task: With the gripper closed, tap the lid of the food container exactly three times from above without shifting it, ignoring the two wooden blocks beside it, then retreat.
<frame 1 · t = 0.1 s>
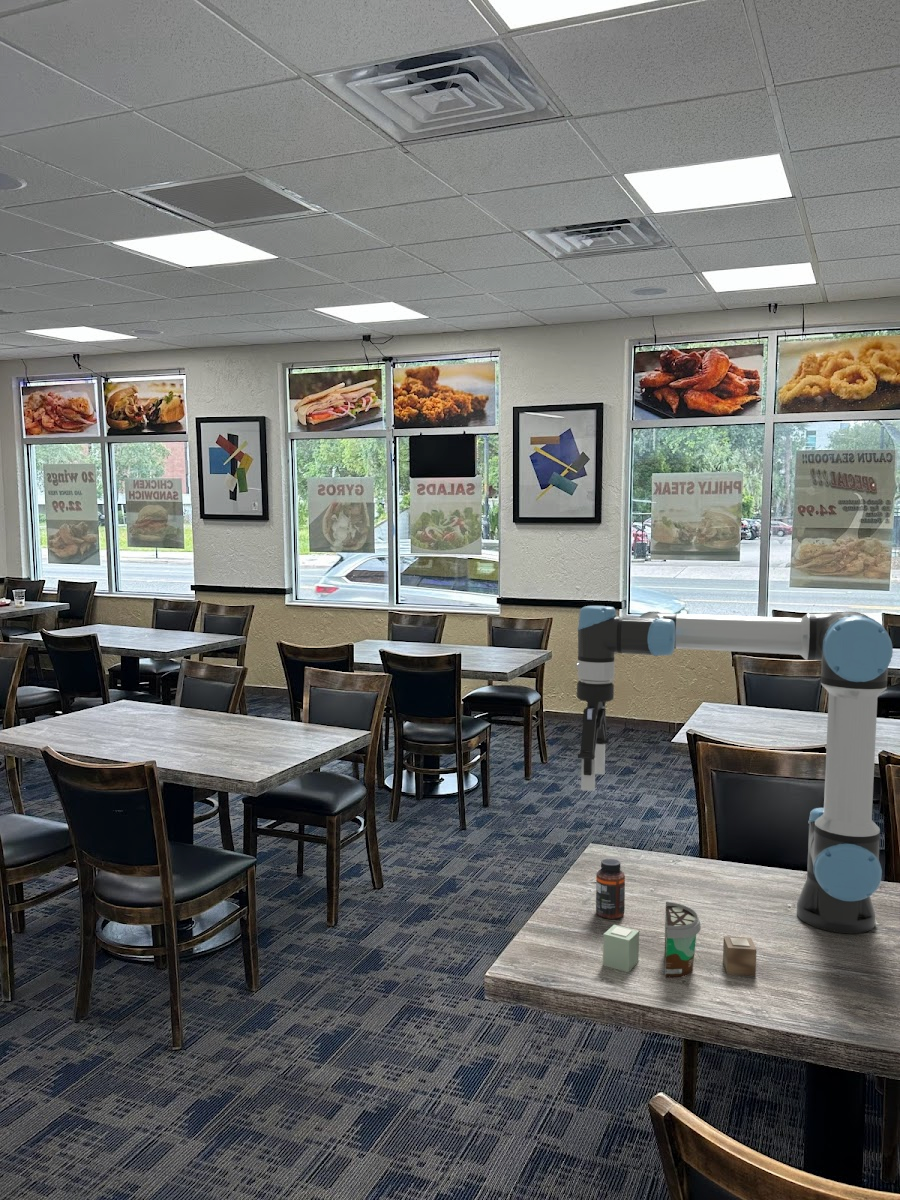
hand: (593, 781, 196), 28 cm above the table, fingers open, 13 cm apart
food container: (682, 968, 174), on the table
sage block: (620, 963, 175), on the table
walnut block: (738, 969, 174), on the table
supplement bottle: (609, 915, 198), on the table
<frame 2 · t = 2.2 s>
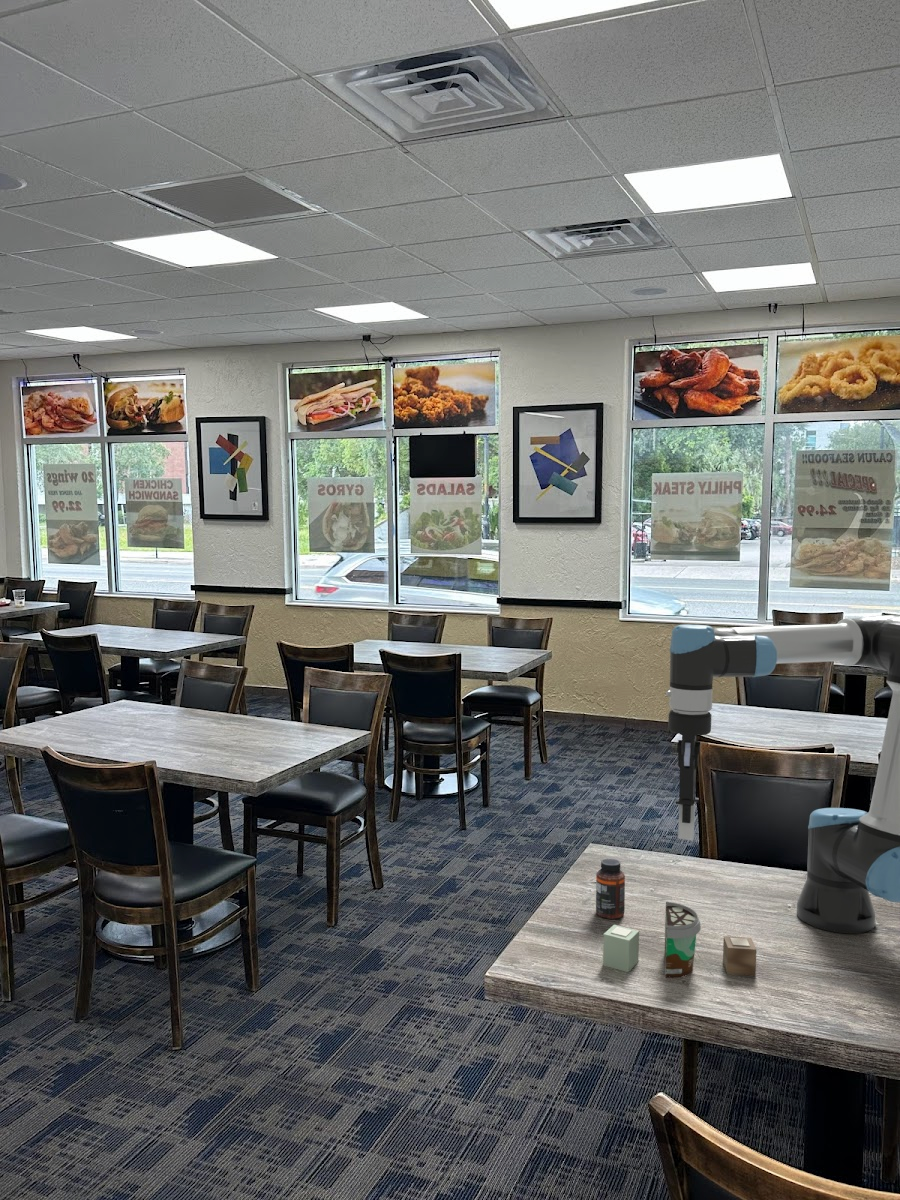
hand: (686, 838, 172), 24 cm above the table, fingers closed
nothing on the table moved.
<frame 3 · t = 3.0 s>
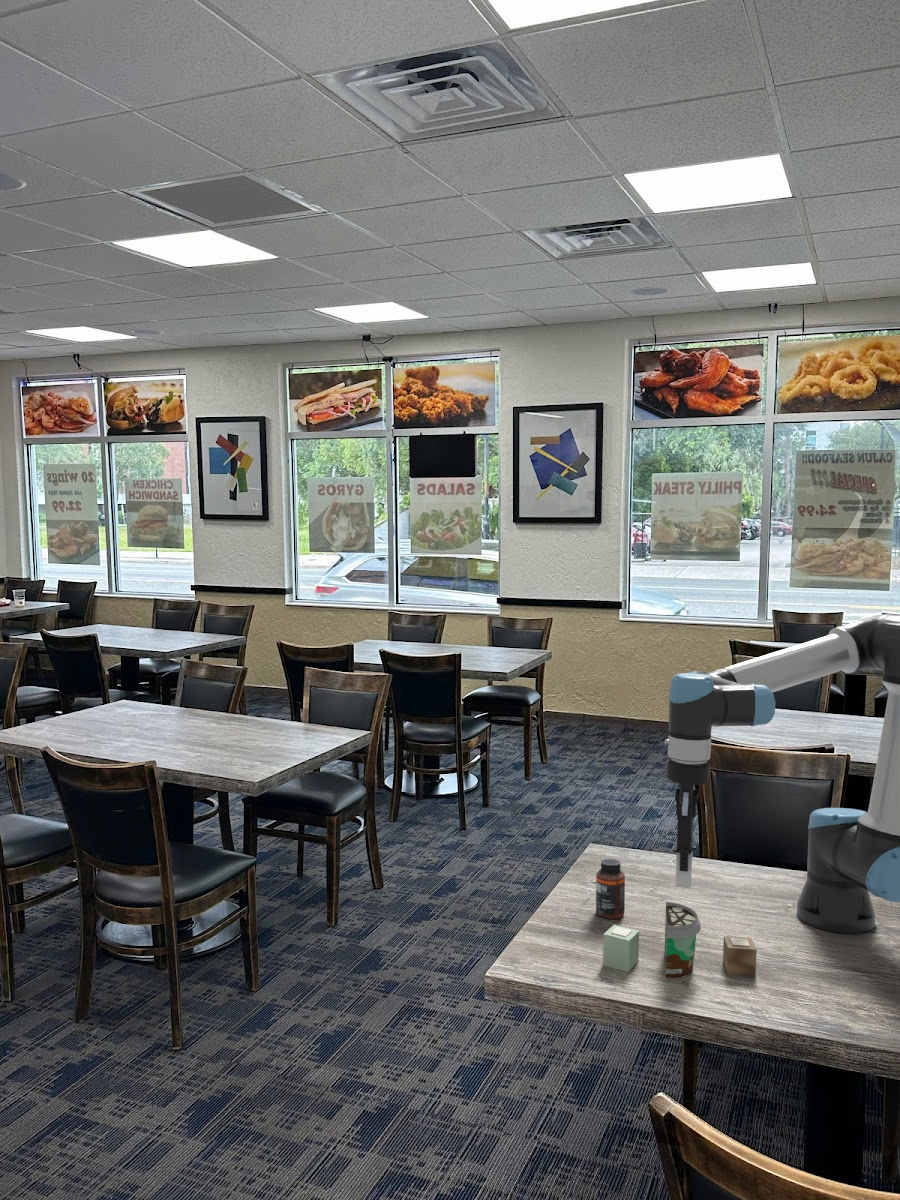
hand: (683, 886, 173), 15 cm above the table, fingers closed
nothing on the table moved.
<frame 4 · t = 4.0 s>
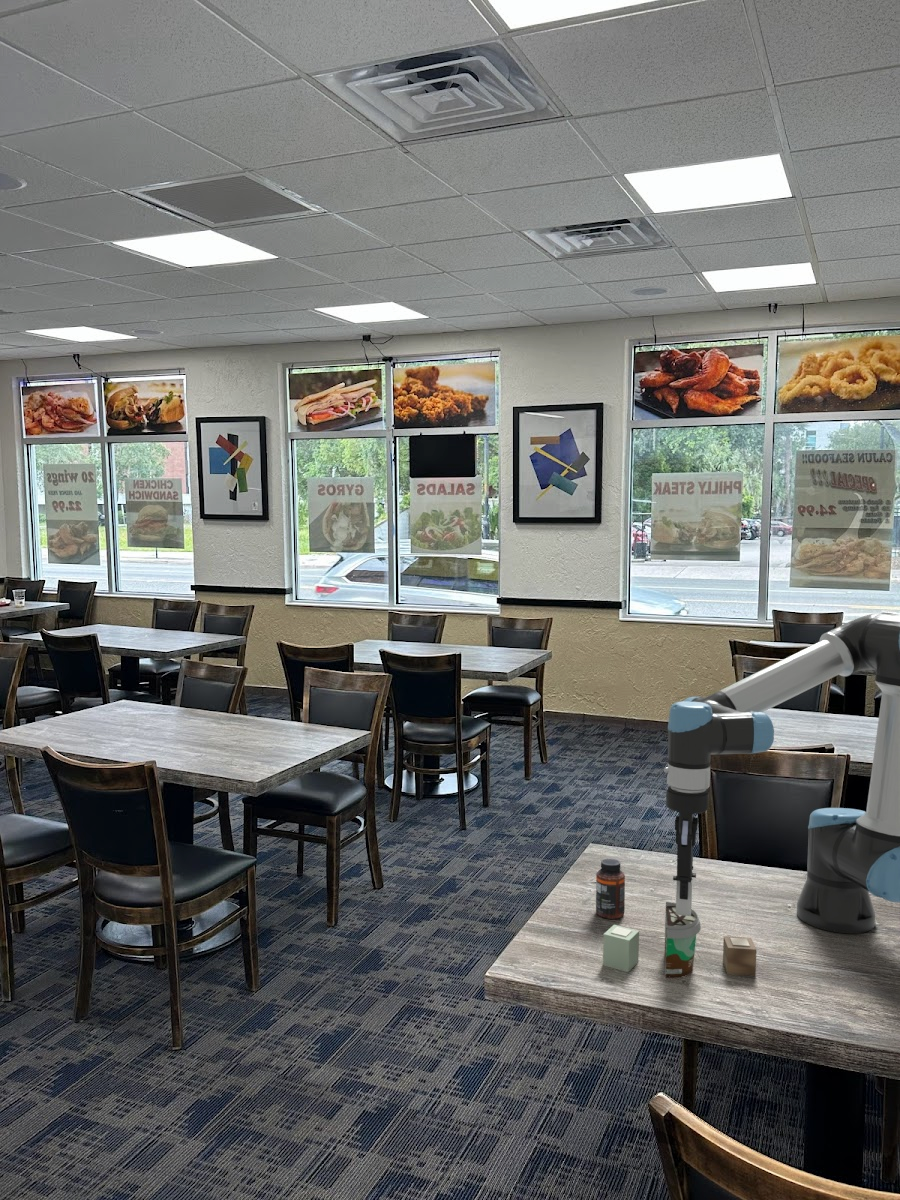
hand: (683, 913, 173), 10 cm above the table, fingers closed
food container: (682, 968, 174), on the table, touching gripper
everything else where it was.
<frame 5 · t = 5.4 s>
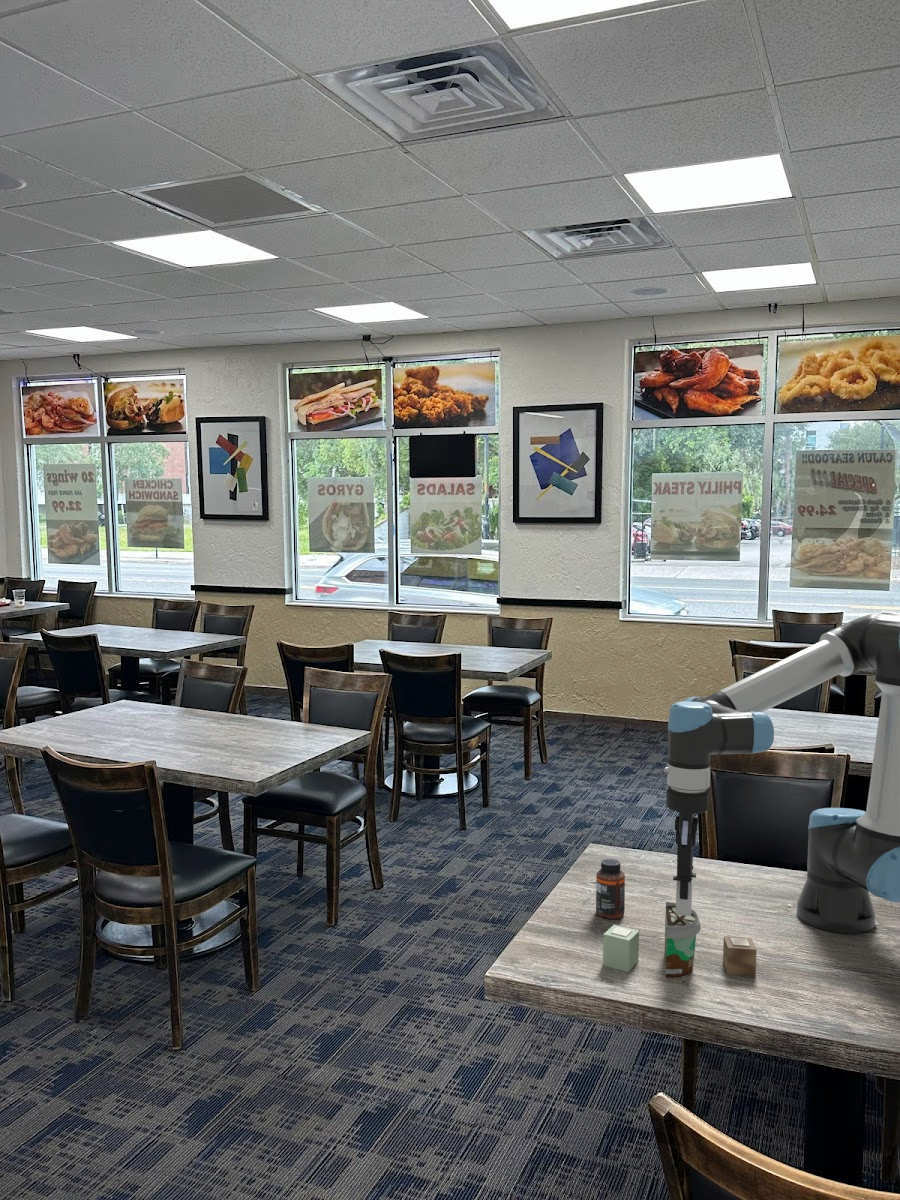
hand: (683, 913, 173), 10 cm above the table, fingers closed
nothing on the table moved.
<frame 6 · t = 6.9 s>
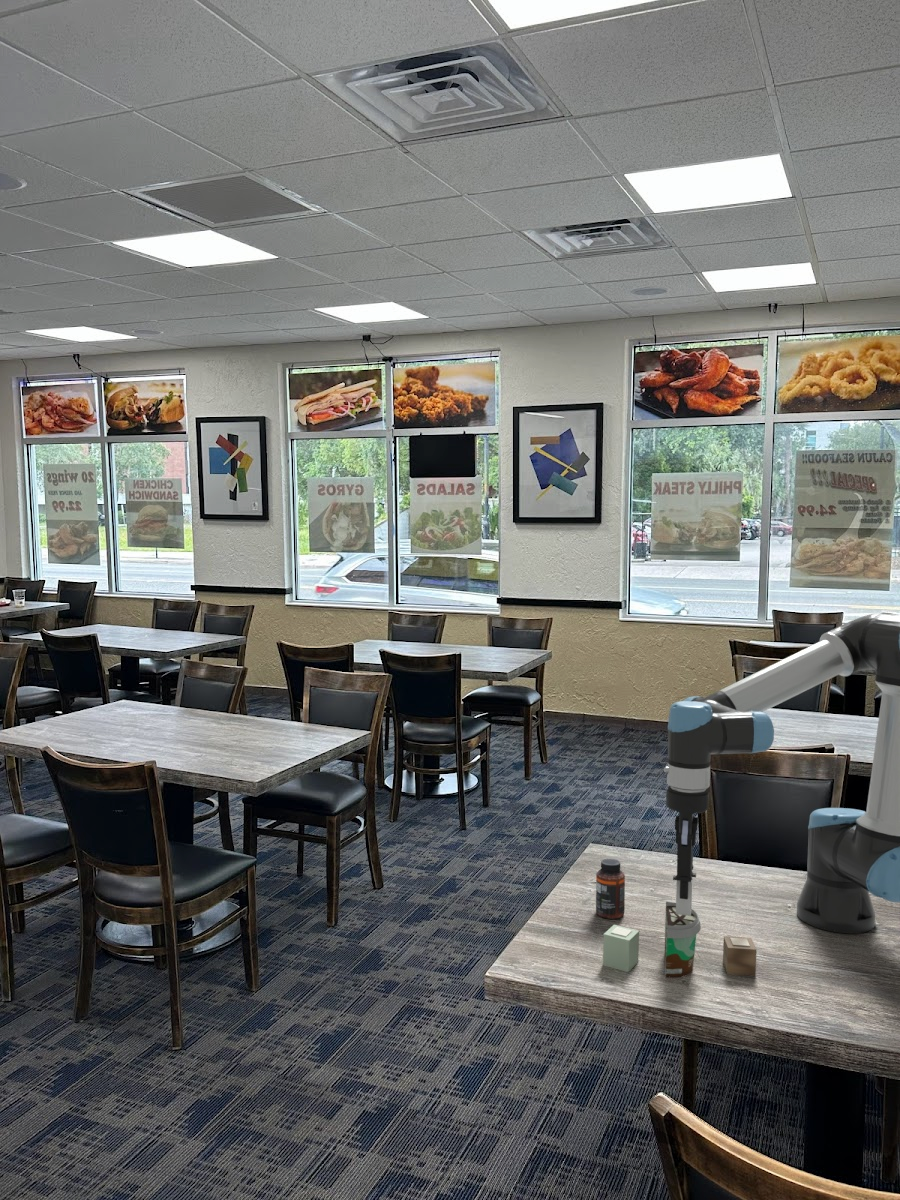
hand: (683, 913, 173), 10 cm above the table, fingers closed
nothing on the table moved.
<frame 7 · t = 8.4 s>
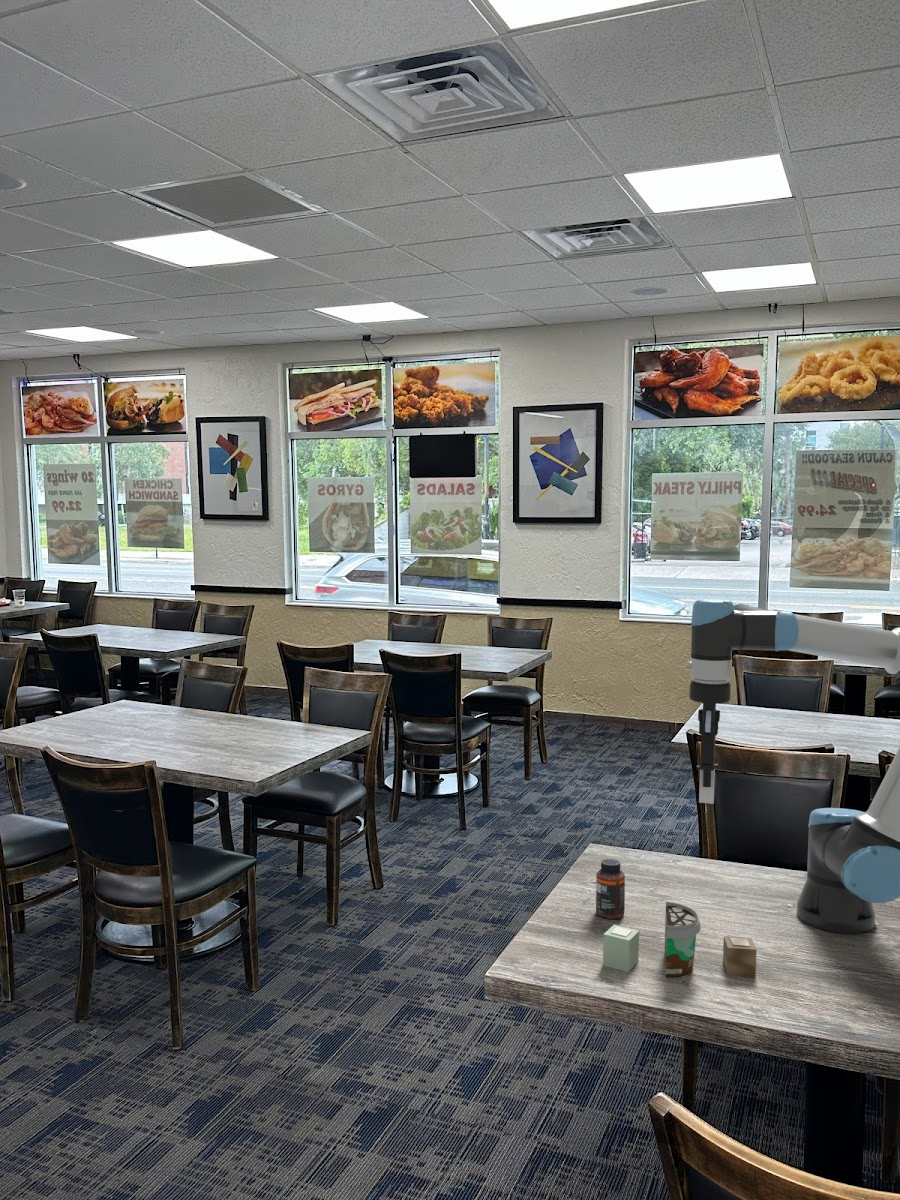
hand: (706, 801, 181), 28 cm above the table, fingers closed
food container: (682, 968, 174), on the table
everything else where it was.
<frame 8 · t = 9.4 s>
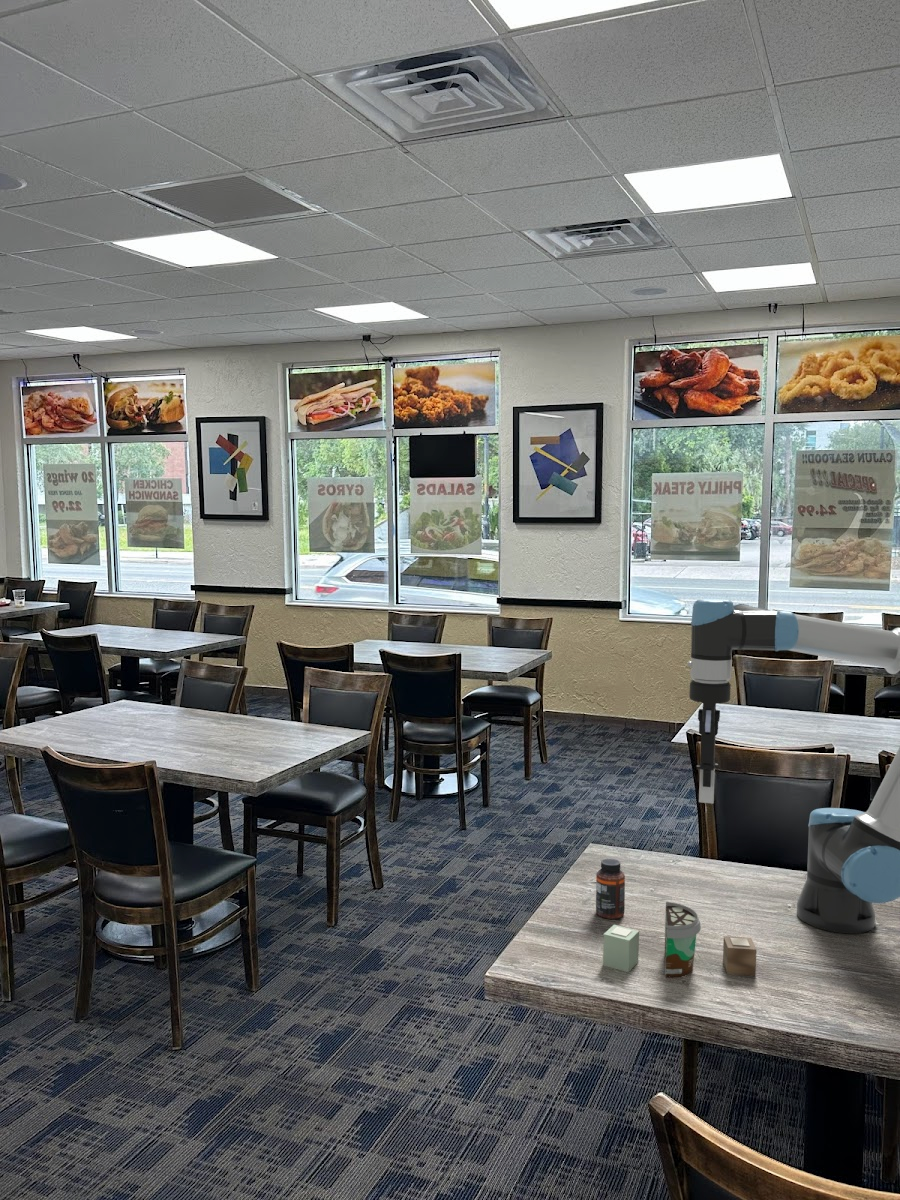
hand: (706, 801, 181), 28 cm above the table, fingers closed
nothing on the table moved.
at the end: food container moved 0.2 cm from its start; food container tilted 0°; the gripper is holding nothing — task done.
